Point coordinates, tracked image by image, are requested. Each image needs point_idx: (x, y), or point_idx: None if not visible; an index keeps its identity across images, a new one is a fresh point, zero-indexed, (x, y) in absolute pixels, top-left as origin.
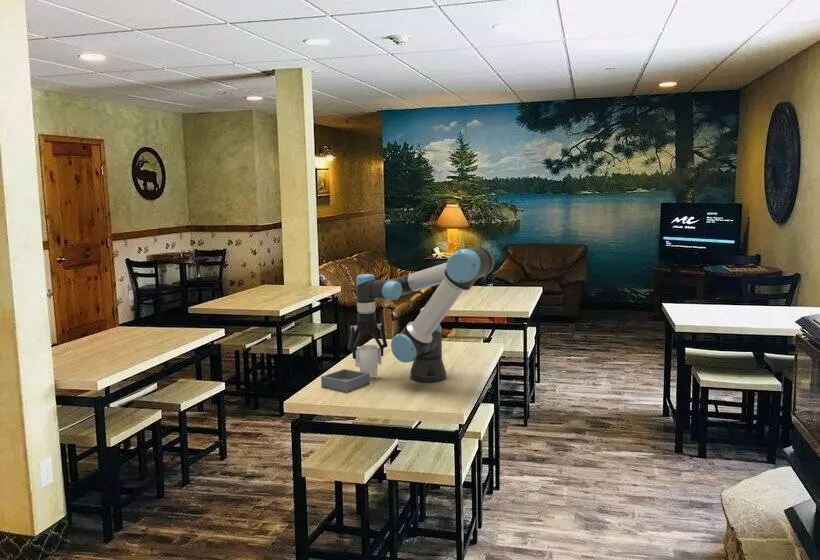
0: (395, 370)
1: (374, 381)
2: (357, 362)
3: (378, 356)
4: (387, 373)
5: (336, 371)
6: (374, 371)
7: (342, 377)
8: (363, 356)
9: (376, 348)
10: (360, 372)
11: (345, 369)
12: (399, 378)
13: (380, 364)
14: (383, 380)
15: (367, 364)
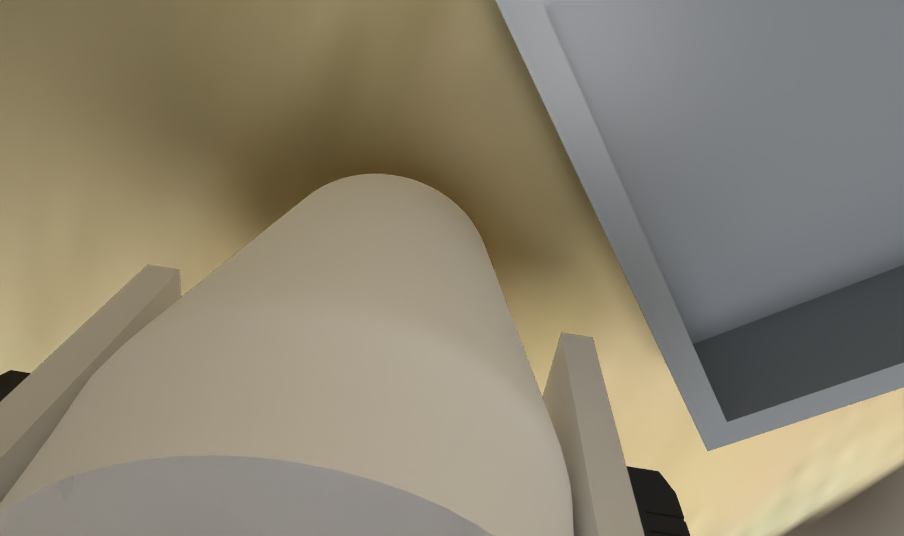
0: None
1: (370, 96)
2: (586, 385)
3: None
4: None
5: (884, 389)
6: (317, 197)
7: (731, 342)
8: (500, 379)
9: (10, 499)
10: (598, 151)
11: (709, 416)
12: (3, 59)
13: (160, 269)
14: (239, 79)
15: (424, 252)
